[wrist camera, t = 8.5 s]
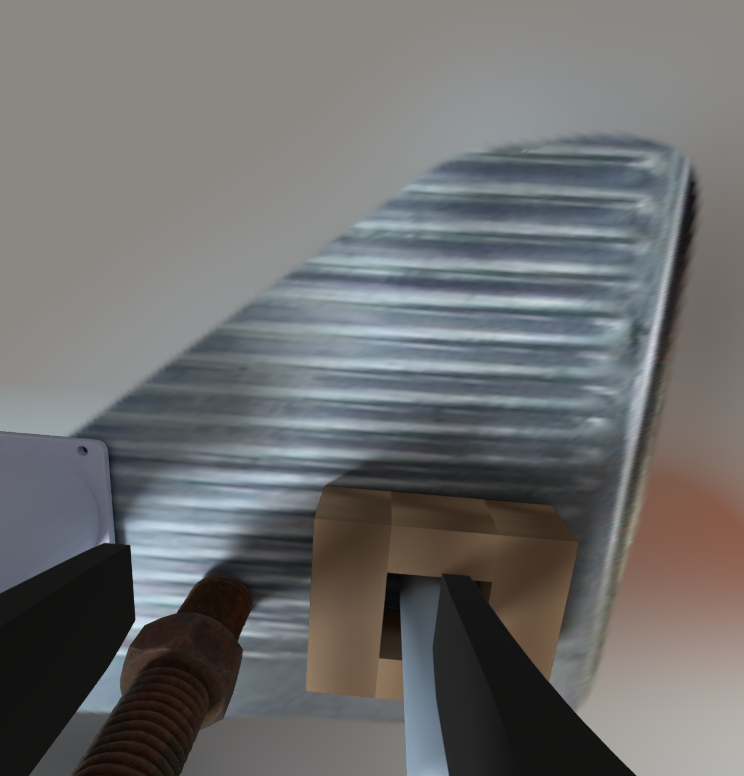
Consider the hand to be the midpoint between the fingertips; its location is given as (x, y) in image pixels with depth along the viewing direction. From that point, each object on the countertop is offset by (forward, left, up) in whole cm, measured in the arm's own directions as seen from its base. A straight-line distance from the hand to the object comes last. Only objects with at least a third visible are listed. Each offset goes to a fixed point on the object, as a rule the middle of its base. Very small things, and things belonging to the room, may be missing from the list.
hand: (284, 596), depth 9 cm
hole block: (+5, -7, -10) cm, 13 cm away
